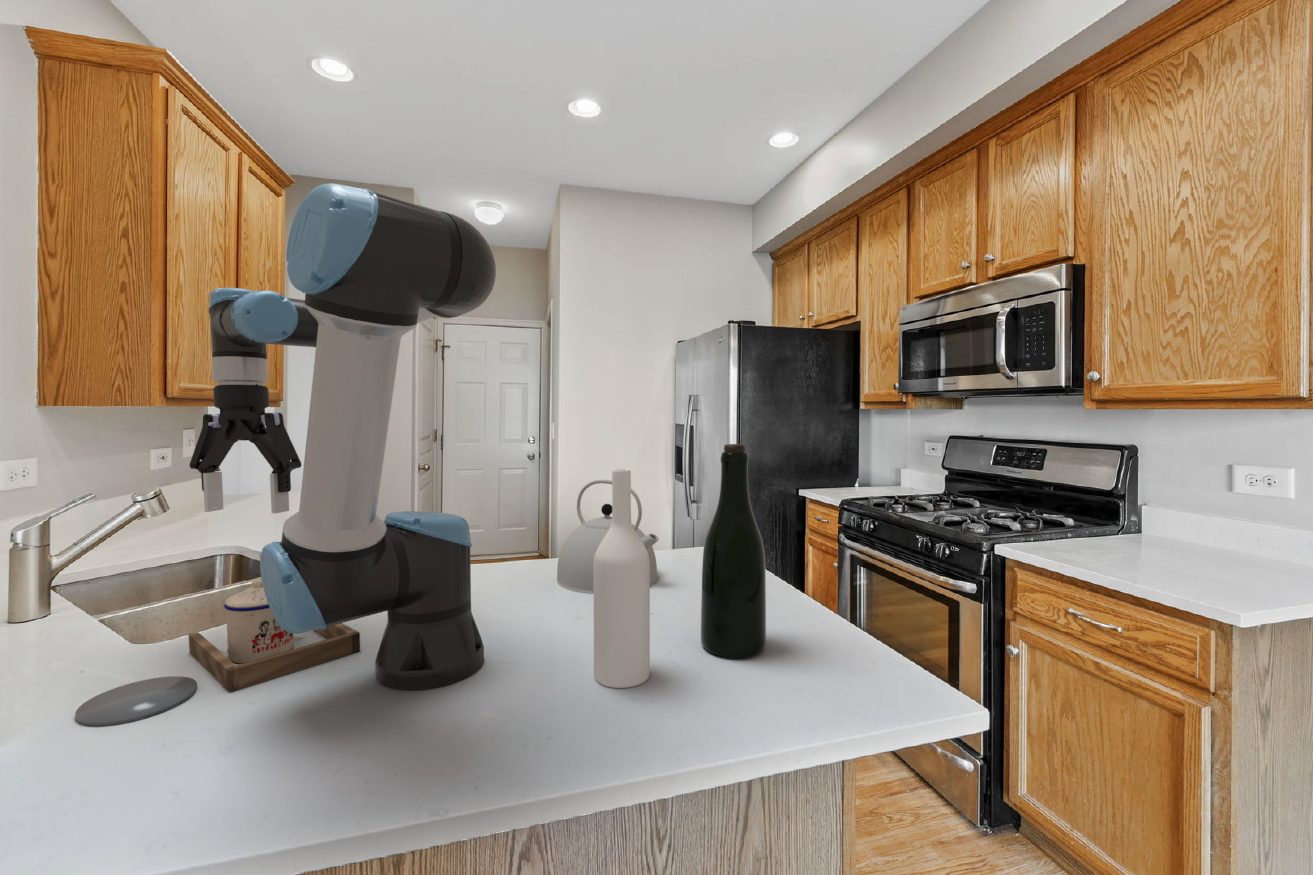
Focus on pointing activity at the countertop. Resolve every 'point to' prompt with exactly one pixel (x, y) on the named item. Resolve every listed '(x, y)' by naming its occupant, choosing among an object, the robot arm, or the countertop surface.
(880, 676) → the countertop surface
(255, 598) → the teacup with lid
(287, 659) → the wooden tray
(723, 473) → the dark green wine bottle
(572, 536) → the kettle
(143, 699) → the coaster
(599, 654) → the bottle
